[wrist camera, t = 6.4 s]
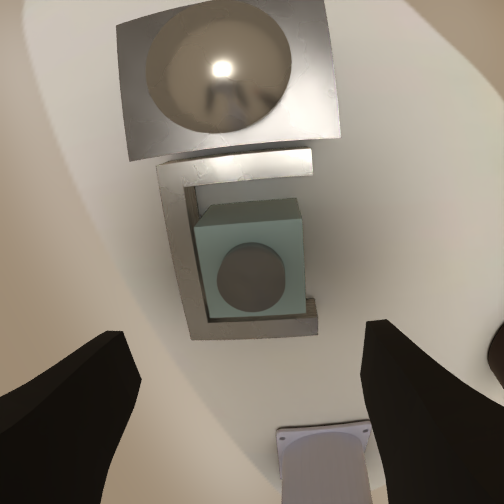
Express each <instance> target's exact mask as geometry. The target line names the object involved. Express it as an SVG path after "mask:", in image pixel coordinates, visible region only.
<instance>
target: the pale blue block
mask: <svg viewBox="0 0 504 504" xmlns="http://www.w3.org/2000/svg"><path fill="white" fill-rule="evenodd" d="M194 232H195V238H196V244H197V250H198V255H199V261H200V266H201V272H202V277H203V283H204V288H205V293H206V299H207V304H208V309H209V314H210V318H223V317H248V316H268V315H285V314H300V313H306V296H305V268H304V246H303V227H302V217H301V213H300V210H299V206H298V202H297V199H296V198H287V199H274V200H261V201H249V202H238V203H227V204H217V205H211V206H210V207H209V209H208V210H207V211H206V212H205V214H204V215H203V216H202V217H201V219H200V220H199V221H198V223H197V224H196V225H195V226H194Z"/></svg>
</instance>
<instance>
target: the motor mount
mask: <svg viewBox="0 0 504 504" xmlns="http://www.w3.org/2000/svg"><path fill="white" fill-rule="evenodd" d="M116 34H117V53H118V67H119V80H120V90H121V100H122V109H123V118H124V126H125V134H126V141H127V148H128V155H129V161H135V160H141V159H146V158H152V157H157V156H163V155H169V154H175V153H182V152H188V151H195V150H203V149H210V148H218V147H226V146H235V145H244V144H254V143H264V142H276V141H290V140H305V139H325V138H341V131H340V119H339V107H338V97H337V88H336V79H335V71H334V63H333V55H332V48H331V41H330V34H329V28H328V22H327V16H326V10H325V5H324V0H212V1H206V2H202V3H197V4H192V5H188V6H183V7H179V8H174V9H170V10H166V11H162V12H158V13H155V14H151V15H148V16H144V17H141V18H137V19H134V20H131V21H128V22H125V23H122V24H119V25H116ZM156 170H157V176H158V183H159V189H160V195H161V201H162V206H163V212H164V217H165V223H166V228H167V233H168V238H169V244H170V249H171V253H172V258H173V263H174V268H175V273H176V277H177V282H178V286H179V291H180V295H181V299H182V304H183V308H184V312H185V316H186V320H187V324H188V328H189V332H190V336H191V340H235V339H262V338H281V337H297V336H311V335H318V315H317V310H316V305H315V300H314V299H306V313H300V314H285V315H268V316H248V317H223V318H210V314H209V309H208V304H207V299H206V293H205V288H204V283H203V277H202V272H201V266H200V261H199V255H198V250H197V244H196V238H195V232H194V226H195V225H196V224H197V223H198V221H199V213H198V207H197V200H196V194H195V187H194V186H197V185H205V184H214V183H223V182H233V181H243V180H254V179H265V178H278V177H291V176H306V175H313V168H312V154H311V149H310V148H309V147H307V146H304V147H289V148H276V149H264V150H253V151H243V152H234V153H225V154H217V155H209V156H201V157H194V158H187V159H180V160H173V161H168V162H165V163H163V164H160V165H157V166H156Z"/></svg>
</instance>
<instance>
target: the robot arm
mask: <svg viewBox="0 0 504 504" xmlns="http://www.w3.org/2000/svg"><path fill="white" fill-rule="evenodd" d="M360 377H361V382H362V388H363V394H364V400H365V405H366V408H367V412H368V415H369V418H370V421H363V422H356V423H348V424H339V425H330V426H319V427H306V428H289V429H279V430H277V432H276V439H277V449H278V459H279V469H280V479H281V480H282V504H372V498H371V491H370V485H369V479H368V473H367V468H366V462H365V457H364V453H365V450H366V446H367V443H368V439H369V436H370V432H371V429H373V432H374V436H375V439H376V442H377V446H378V449H379V453H380V457H381V460H382V464H383V468H384V473H385V478H386V486H387V494H388V502H389V504H504V407H503V406H502V405H500V404H498V403H496V402H494V401H492V400H491V399H489V398H487V397H486V396H484V395H483V394H481V393H479V392H478V391H476V390H474V389H473V388H471V387H470V386H468V385H467V384H465V383H464V382H462V381H461V380H460V379H458V378H457V377H456V376H454V375H453V374H452V373H450V372H449V371H448V370H446V369H445V368H444V367H442V366H441V365H440V364H439V363H437V362H436V361H435V360H434V359H432V358H431V357H430V356H429V355H427V354H426V353H425V352H424V351H423V350H422V349H420V348H419V347H418V346H417V345H416V344H415V343H413V342H412V341H411V340H410V339H409V338H408V337H407V336H405V335H404V334H403V333H402V332H401V331H400V330H399V329H398V328H396V327H395V326H394V325H393V324H392V323H391V322H389V321H388V320H387V319H384V320H376V321H367V322H366V330H365V339H364V348H363V357H362V365H361V372H360ZM141 380H142V379H141V377H140V374H139V372H138V369H137V367H136V365H135V362H134V359H133V357H132V354H131V352H130V349H129V346H128V344H127V341H126V338H125V336H124V333H123V331H105V332H104V333H102V334H100V335H98V336H97V337H95V338H94V339H92V340H90V341H89V342H87V343H86V344H84V345H83V346H82V347H80V348H79V349H77V350H76V351H75V352H73V353H72V354H70V355H68V356H67V357H66V358H64V359H63V360H61V361H60V362H58V363H57V364H55V365H54V366H52V367H51V368H49V369H48V370H46V371H45V372H43V373H42V374H40V375H38V376H37V377H35V378H34V379H32V380H31V381H29V382H27V383H26V384H24V385H22V386H20V387H19V388H17V389H15V390H13V391H11V392H9V393H8V394H5V395H3V396H1V397H0V504H100V503H101V497H102V493H103V488H104V485H105V481H106V476H107V473H108V469H109V466H110V463H111V461H112V458H113V456H114V453H115V451H116V448H117V446H118V444H119V442H120V439H121V437H122V434H123V432H124V430H125V427H126V425H127V423H128V421H129V418H130V416H131V413H132V411H133V409H134V406H135V403H136V399H137V396H138V392H139V388H140V384H141Z"/></svg>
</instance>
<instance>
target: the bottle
mask: <svg viewBox="0 0 504 504" xmlns="http://www.w3.org/2000/svg"><path fill="white" fill-rule="evenodd" d="M488 361H489V365H490V369H491V370H492V372H493V373H494V375H495V376H496V378H497V379H498V381H499V382H500V384H501V385H502V387H503V389H504V325H503V326H502V327H501V328H500V330H499V332H498V333H497V335H496V336H495V338H494V340H493V343H492V345H491V347H490V350H489V356H488Z"/></svg>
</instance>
